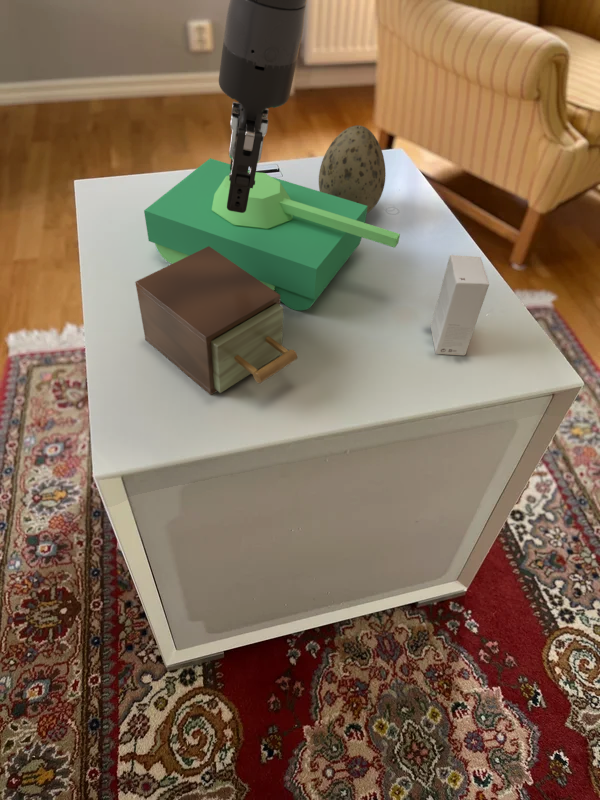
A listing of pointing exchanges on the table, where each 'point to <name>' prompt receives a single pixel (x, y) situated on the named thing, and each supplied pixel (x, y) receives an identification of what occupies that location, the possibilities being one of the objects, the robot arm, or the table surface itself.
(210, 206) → the toy tank
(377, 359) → the table surface
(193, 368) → the cabinet
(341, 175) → the decorative egg
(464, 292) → the cosmetic box
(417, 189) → the table surface
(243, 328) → the drawer
